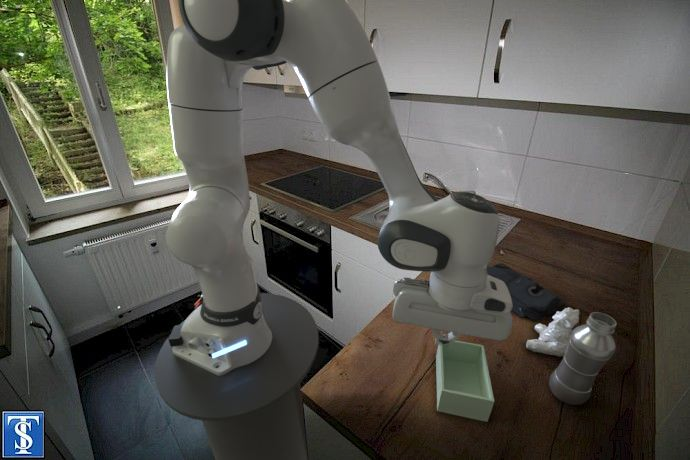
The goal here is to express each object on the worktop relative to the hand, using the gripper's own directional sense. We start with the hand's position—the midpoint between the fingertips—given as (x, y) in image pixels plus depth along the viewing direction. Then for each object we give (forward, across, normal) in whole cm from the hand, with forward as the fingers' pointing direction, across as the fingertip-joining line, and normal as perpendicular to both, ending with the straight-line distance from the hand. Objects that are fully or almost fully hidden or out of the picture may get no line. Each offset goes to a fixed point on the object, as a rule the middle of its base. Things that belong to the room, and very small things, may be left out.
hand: (442, 343), depth 60 cm
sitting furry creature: (+11, +26, +16) cm, 33 cm away
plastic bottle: (+11, +26, +3) cm, 28 cm away
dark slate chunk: (+11, +23, +36) cm, 44 cm away
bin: (+8, 0, 0) cm, 8 cm away
